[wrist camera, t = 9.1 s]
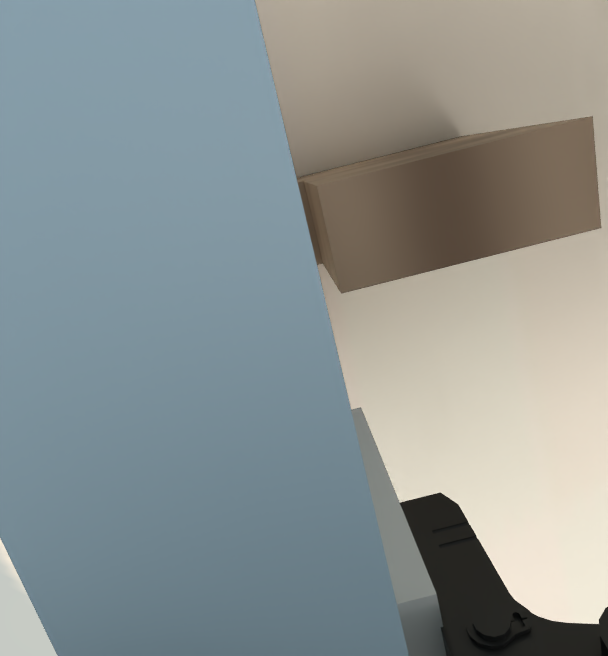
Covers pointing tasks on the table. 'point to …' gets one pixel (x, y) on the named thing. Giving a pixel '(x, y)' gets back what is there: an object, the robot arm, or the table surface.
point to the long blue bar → (171, 349)
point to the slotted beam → (452, 202)
